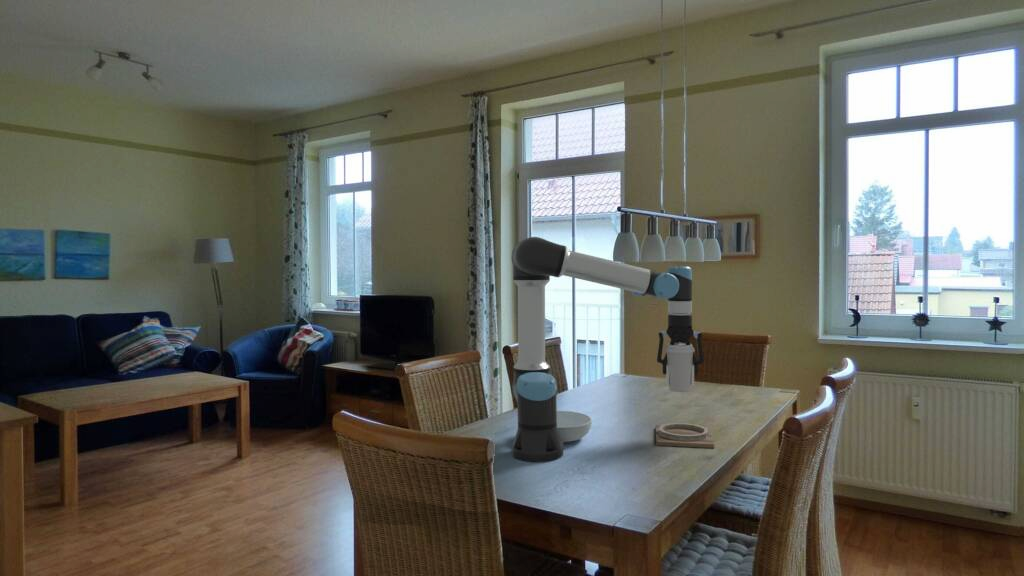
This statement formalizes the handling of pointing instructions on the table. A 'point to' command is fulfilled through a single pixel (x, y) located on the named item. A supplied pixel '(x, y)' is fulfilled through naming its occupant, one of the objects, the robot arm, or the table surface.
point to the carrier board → (683, 435)
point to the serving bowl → (572, 425)
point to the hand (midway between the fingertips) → (679, 384)
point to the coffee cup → (679, 366)
